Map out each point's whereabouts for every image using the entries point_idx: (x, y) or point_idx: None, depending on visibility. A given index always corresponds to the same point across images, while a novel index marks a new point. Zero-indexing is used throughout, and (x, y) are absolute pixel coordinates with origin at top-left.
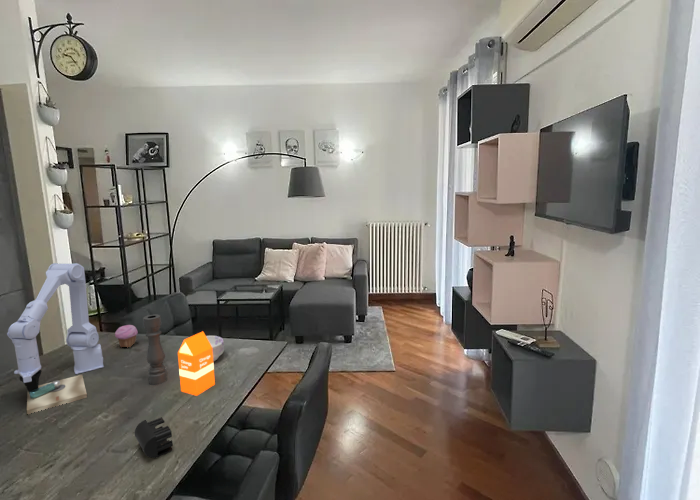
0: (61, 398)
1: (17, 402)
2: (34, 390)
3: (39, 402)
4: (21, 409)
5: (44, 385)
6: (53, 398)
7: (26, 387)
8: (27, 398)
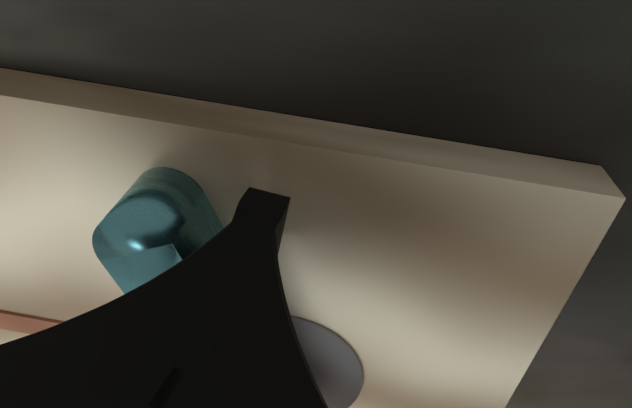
0: (11, 339)
1: (369, 6)
2: (160, 272)
3: (19, 206)
4: (91, 18)
5: (493, 330)
6: (46, 304)
7: (201, 246)
8: (231, 135)
